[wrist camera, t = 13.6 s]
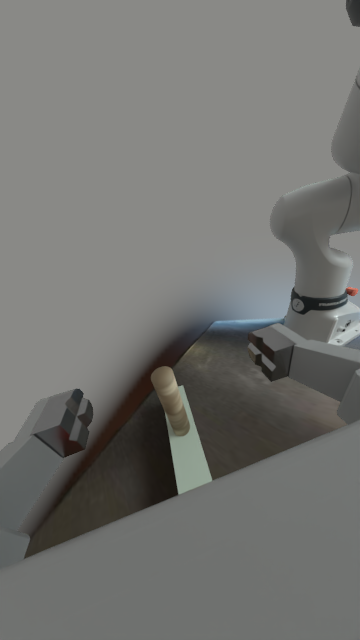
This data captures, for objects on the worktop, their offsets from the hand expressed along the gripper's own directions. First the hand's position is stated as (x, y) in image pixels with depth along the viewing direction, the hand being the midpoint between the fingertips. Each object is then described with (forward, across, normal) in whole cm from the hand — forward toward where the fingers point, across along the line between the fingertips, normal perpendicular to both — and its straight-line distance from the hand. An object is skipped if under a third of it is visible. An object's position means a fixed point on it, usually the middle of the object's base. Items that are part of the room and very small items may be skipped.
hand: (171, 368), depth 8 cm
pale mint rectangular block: (+11, +2, +32) cm, 34 cm away
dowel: (+12, +2, +26) cm, 28 cm away
